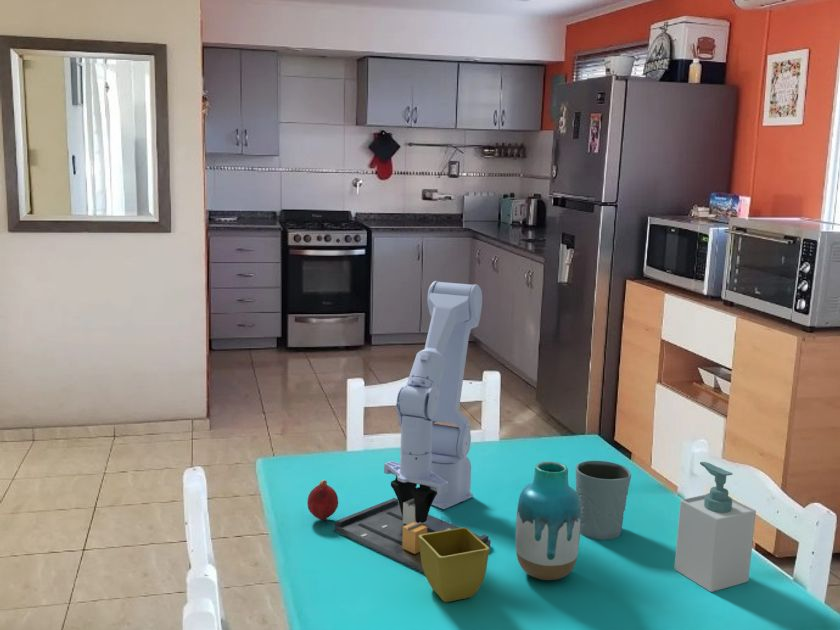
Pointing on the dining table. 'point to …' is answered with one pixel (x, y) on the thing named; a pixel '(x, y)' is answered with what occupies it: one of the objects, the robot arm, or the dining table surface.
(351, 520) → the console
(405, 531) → the fader
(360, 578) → the dining table surface
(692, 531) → the soap bottle
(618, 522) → the grey textured cup
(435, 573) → the flower pot
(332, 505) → the onion
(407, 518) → the fader
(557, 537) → the vase
